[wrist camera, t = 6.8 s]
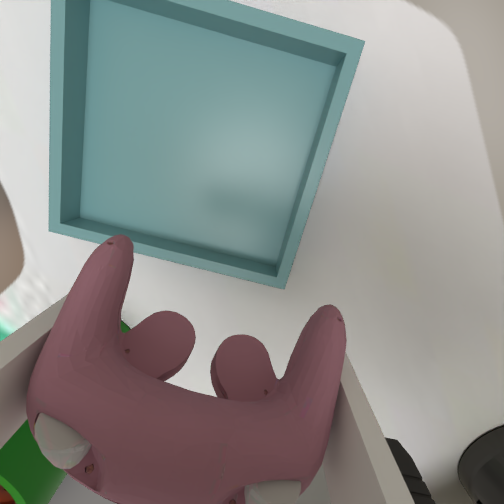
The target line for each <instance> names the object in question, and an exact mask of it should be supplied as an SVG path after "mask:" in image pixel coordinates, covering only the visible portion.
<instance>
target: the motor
mask: <svg viewBox="0 0 504 504" xmlns="http://www.w3.org/2000/svg"><path fill="white" fill-rule="evenodd" d="M129 330H130V328H129V327H128V326H127V325H126V324H125V323H123V322H122V321H121V331H122V333H126V332H127V331H129ZM66 475H67V473H66V472H65V471H64V470H63V469H60V468H57V467H55V466H54V465H53V464H52V463H51V462H50V461H49V460H48V459H47V458H46V457H45V456H44V455H43V454H42V452H41V450H40V448H39V446H38V443H37V442H36V440H35V439H34V437H33V435H32V433H31V431H30V427H29V422H28V419H27V420H26V421H25V422H24V423H23V424H22V425H21V427H20V428H19V429H18V430H17V431H16V432H15V433H14V434H13V435H12V437H11V438H10V439H9V440H8V441H7V442H6V443H5V444H4V446H3V447H2V448H1V449H0V504H48V503H49V501H50V500H51V498H52V497H53V495H54V494H55V492H56V490H57V489H58V487H59V486H60V484H61V483H62V481H63V479H64V478H65V476H66Z"/></svg>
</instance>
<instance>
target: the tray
mask: <svg viewBox="0 0 504 504" xmlns="http://www.w3.org/2000/svg"><path fill="white" fill-rule="evenodd" d="M364 44H365V41H363V40H360V39H357V38H353V37H350V36H347V35H343V34H340V33H336V32H333V31H330V30H326V29H323V28H320V27H316V26H313V25H310V24H306V23H303V22H300V21H296V20H293V19H290V18H286V17H283V16H279V15H276V14H273V13H269V12H266V11H263V10H259V9H256V8H253V7H249V6H246V5H243V4H239V3H236V2H233V1H229V0H51V44H50V143H49V231H50V232H54V233H58V234H62V235H66V236H70V237H74V238H78V239H82V240H86V241H90V242H94V243H98V244H102V243H103V242H105V241H106V240H107V239H109V238H111V237H113V236H115V235H119V234H122V235H125V236H127V237H129V238H130V239H131V241H132V242H133V245H134V251H133V252H135V253H139V254H143V255H147V256H151V257H155V258H159V259H163V260H167V261H171V262H175V263H179V264H183V265H187V266H191V267H195V268H200V269H204V270H208V271H212V272H216V273H220V274H224V275H228V276H232V277H236V278H240V279H244V280H248V281H252V282H256V283H260V284H264V285H268V286H272V287H276V288H280V289H285V286H286V283H287V280H288V277H289V274H290V271H291V267H292V264H293V261H294V258H295V255H296V252H297V249H298V246H299V243H300V240H301V237H302V234H303V231H304V228H305V225H306V221H307V218H308V215H309V212H310V209H311V206H312V203H313V200H314V197H315V194H316V191H317V188H318V185H319V182H320V179H321V175H322V172H323V169H324V166H325V163H326V160H327V157H328V154H329V151H330V148H331V145H332V142H333V139H334V136H335V133H336V129H337V126H338V123H339V120H340V117H341V114H342V111H343V108H344V105H345V102H346V99H347V96H348V93H349V90H350V87H351V83H352V80H353V77H354V74H355V71H356V68H357V65H358V62H359V59H360V56H361V53H362V50H363V47H364Z"/></svg>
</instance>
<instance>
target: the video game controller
mask: <svg viewBox="0 0 504 504" xmlns="http://www.w3.org/2000/svg"><path fill="white" fill-rule="evenodd" d="M133 251H134V245H133V242H132V241H131V239H130V238H129V237H127V236H125V235H122V234H119V235H115V236H113V237H111V238H109V239H107V240H106V241H105V242H103V243H102V244H101V245H100V246H99V247H97V248H96V249H95V250H94V252H93V253H92V254H91V256H90V257H89V258H88V260H87V261H86V263H85V264H84V266H83V268H82V270H81V272H80V274H79V275H78V277H77V279H76V281H75V283H74V285H73V286H72V288H71V290H70V292H69V294H68V296H67V298H66V300H65V302H64V304H63V306H62V308H61V310H60V312H59V315H58V317H57V319H56V321H55V323H54V325H53V327H52V329H51V331H50V334H49V336H48V338H47V340H46V342H45V344H44V346H43V348H42V350H41V353H40V355H39V357H38V359H37V362H36V364H35V367H34V370H33V372H32V375H31V378H30V382H29V386H28V391H27V398H26V414H27V418H28V422H29V427H30V431H31V433H32V435H33V437H34V439H35V440H36V442H37V443H38V446H39V448H40V450H41V452H42V454H43V455H44V456H45V457H46V458H47V459H48V460H49V461H50V462H51V463H52V464H53V465H54V466H55V467H57V468H60V469H63V470H64V471H65V472H66V473H67V474H68V475H70V476H71V477H72V478H73V479H74V480H76V481H78V482H79V483H81V484H82V485H84V486H85V487H87V488H88V489H90V490H92V491H93V492H95V493H97V494H98V495H100V496H102V497H104V498H105V499H108V500H110V501H112V502H115V503H117V504H295V502H296V500H297V499H298V497H299V496H300V495H301V494H302V493H303V492H304V491H305V490H306V489H307V488H308V486H309V485H310V484H311V482H312V480H313V479H314V477H315V475H316V474H317V472H318V470H319V468H320V467H321V465H322V462H323V458H324V455H325V451H326V448H327V444H328V440H329V435H330V430H331V425H332V420H333V415H334V410H335V405H336V400H337V395H338V390H339V385H340V380H341V374H342V369H343V363H344V358H345V350H346V331H345V324H344V320H343V317H342V315H341V313H340V311H339V310H338V309H337V308H336V307H335V306H333V305H324V306H322V307H320V308H318V310H317V311H316V312H315V313H314V314H313V315H312V316H311V317H310V319H309V321H308V322H307V324H306V325H305V327H304V329H303V330H302V332H301V334H300V336H299V339H298V341H297V343H296V345H295V348H294V350H293V352H292V355H291V357H290V360H289V363H288V365H287V368H286V371H285V374H284V376H283V377H282V378H281V379H280V380H279V379H277V378H276V376H275V373H274V371H273V368H272V365H271V361H270V358H269V354H268V352H267V350H266V348H265V346H264V345H263V344H262V343H261V342H260V341H259V340H257V339H256V338H254V337H252V336H249V335H233V336H231V337H228V338H227V339H225V340H224V341H223V342H222V344H221V345H220V346H219V348H218V350H217V352H216V354H215V356H214V357H213V360H212V363H211V370H210V373H211V380H212V385H213V388H214V390H215V393H216V395H217V397H214V396H209V395H205V394H201V393H197V392H193V391H190V390H187V389H184V388H181V387H178V386H175V385H172V384H169V383H166V382H164V381H166V380H167V379H169V378H171V377H172V376H174V375H175V374H176V373H177V372H179V371H180V369H181V368H182V367H183V366H184V364H185V363H186V361H187V359H188V357H189V356H190V354H191V352H192V350H193V347H194V344H195V338H196V337H195V331H194V328H193V326H192V324H191V323H190V322H189V321H188V320H187V319H186V318H185V317H184V316H182V315H180V314H178V313H176V312H172V311H160V312H157V313H154V314H152V315H150V316H149V317H147V318H146V319H144V320H143V321H142V322H141V323H139V324H138V325H137V326H135V327H134V328H132V329H131V330H129V331H127V332H126V333H122V331H121V309H122V306H123V302H124V299H125V295H126V291H127V288H128V284H129V281H130V276H131V271H132V266H133V261H134V258H133Z"/></svg>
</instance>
